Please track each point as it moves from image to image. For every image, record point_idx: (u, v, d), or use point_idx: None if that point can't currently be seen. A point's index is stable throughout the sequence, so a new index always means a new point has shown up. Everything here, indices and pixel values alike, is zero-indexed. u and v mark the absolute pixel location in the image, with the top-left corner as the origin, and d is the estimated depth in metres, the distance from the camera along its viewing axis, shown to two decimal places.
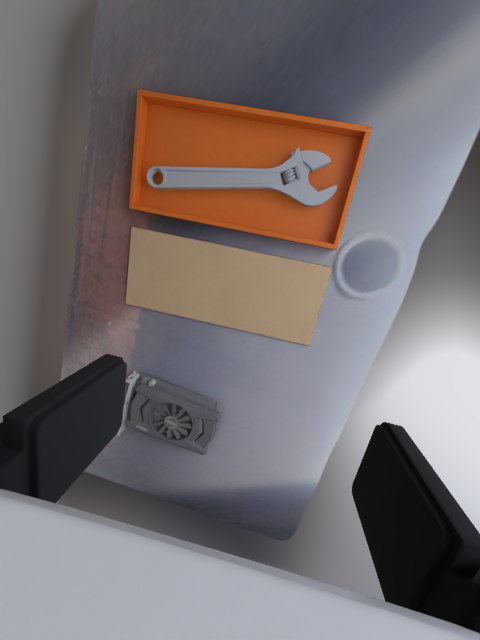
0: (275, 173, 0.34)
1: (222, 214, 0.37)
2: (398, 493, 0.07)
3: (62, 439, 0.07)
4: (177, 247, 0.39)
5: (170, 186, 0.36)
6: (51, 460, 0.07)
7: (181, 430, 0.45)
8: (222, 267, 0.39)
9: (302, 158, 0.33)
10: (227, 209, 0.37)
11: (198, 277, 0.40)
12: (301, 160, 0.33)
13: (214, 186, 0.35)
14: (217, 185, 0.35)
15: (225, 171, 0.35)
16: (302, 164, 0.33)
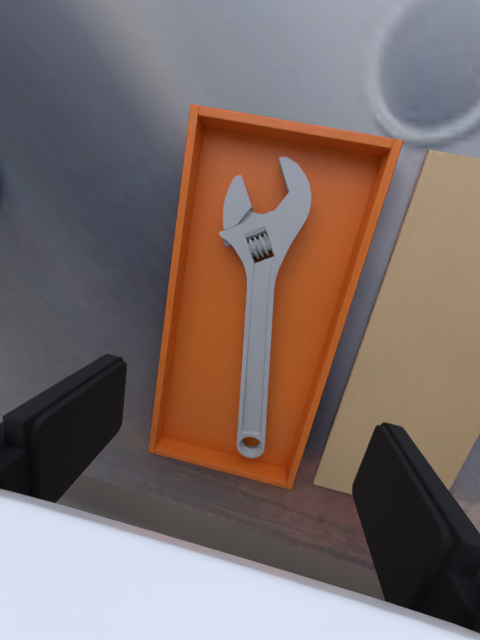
0: (254, 270, 0.20)
1: (307, 354, 0.23)
2: (398, 493, 0.07)
3: (62, 439, 0.07)
4: (352, 426, 0.24)
5: (264, 429, 0.24)
6: (51, 460, 0.07)
7: None
8: (396, 360, 0.22)
9: (234, 225, 0.20)
10: (300, 346, 0.23)
11: (408, 400, 0.23)
12: (237, 227, 0.20)
13: (268, 367, 0.22)
14: (267, 362, 0.22)
15: (247, 349, 0.22)
16: (243, 225, 0.20)
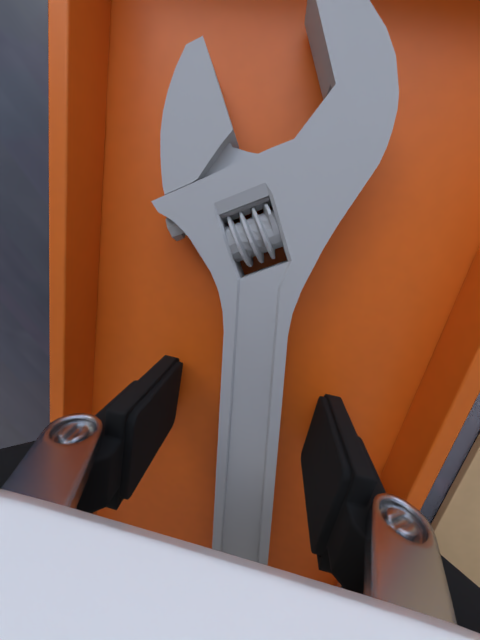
0: (241, 295, 0.09)
1: None
2: (324, 448, 0.08)
3: (144, 431, 0.08)
4: None
5: None
6: (137, 450, 0.08)
7: None
8: None
9: (190, 183, 0.08)
10: None
11: None
12: (197, 187, 0.08)
13: (271, 497, 0.10)
14: (269, 490, 0.10)
15: (227, 460, 0.10)
16: (212, 181, 0.08)
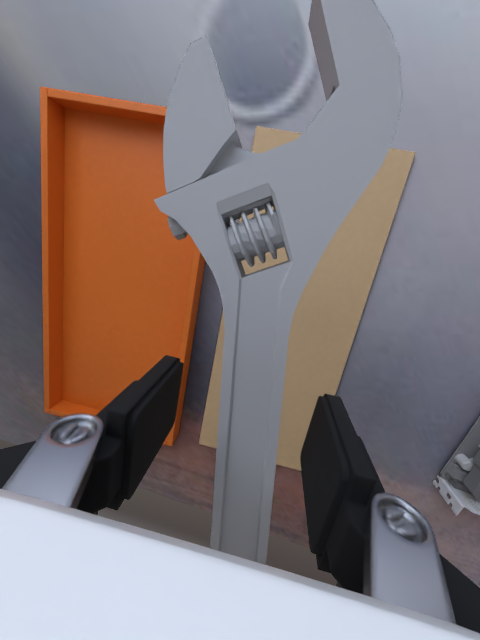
0: (242, 295, 0.09)
1: (177, 318, 0.25)
2: (324, 448, 0.08)
3: (145, 431, 0.08)
4: None
5: None
6: (138, 450, 0.08)
7: None
8: None
9: (192, 182, 0.08)
10: (171, 311, 0.25)
11: None
12: (199, 186, 0.08)
13: (270, 497, 0.10)
14: (268, 490, 0.10)
15: (226, 460, 0.10)
16: (215, 180, 0.08)
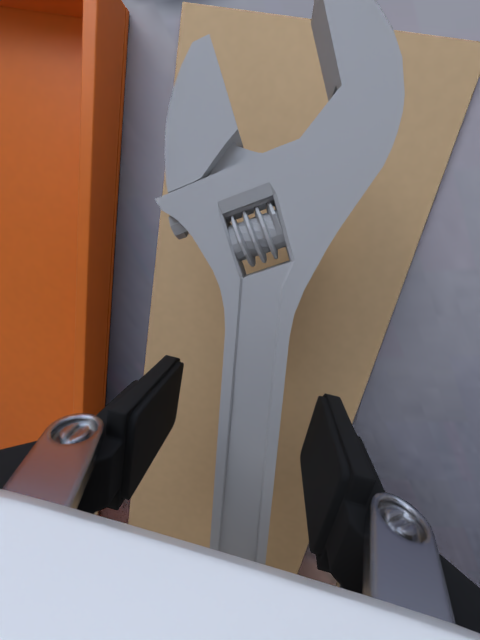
0: (243, 295, 0.09)
1: None
2: (323, 448, 0.08)
3: (145, 431, 0.08)
4: (159, 458, 0.17)
5: None
6: (138, 450, 0.08)
7: None
8: (199, 361, 0.15)
9: (194, 181, 0.08)
10: (66, 340, 0.16)
11: None
12: (201, 186, 0.08)
13: (269, 497, 0.10)
14: (268, 490, 0.10)
15: (226, 460, 0.10)
16: (216, 180, 0.08)
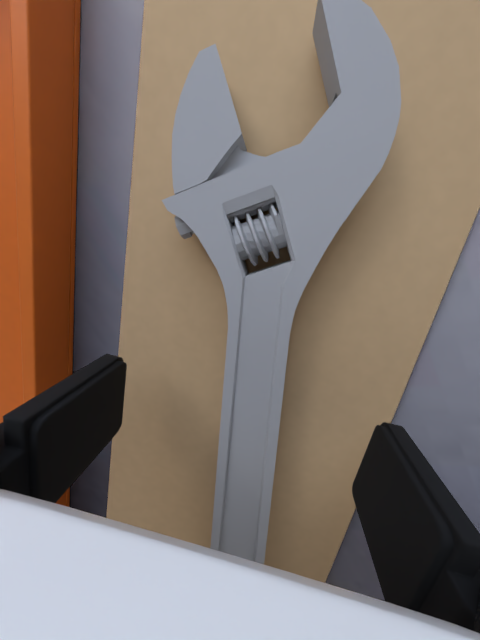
0: (246, 292, 0.09)
1: None
2: (398, 493, 0.07)
3: (62, 439, 0.07)
4: (136, 501, 0.14)
5: None
6: (51, 460, 0.07)
7: None
8: (182, 388, 0.12)
9: (199, 184, 0.08)
10: (21, 360, 0.13)
11: None
12: (206, 188, 0.08)
13: (269, 489, 0.11)
14: (268, 482, 0.11)
15: (228, 453, 0.11)
16: (221, 182, 0.08)
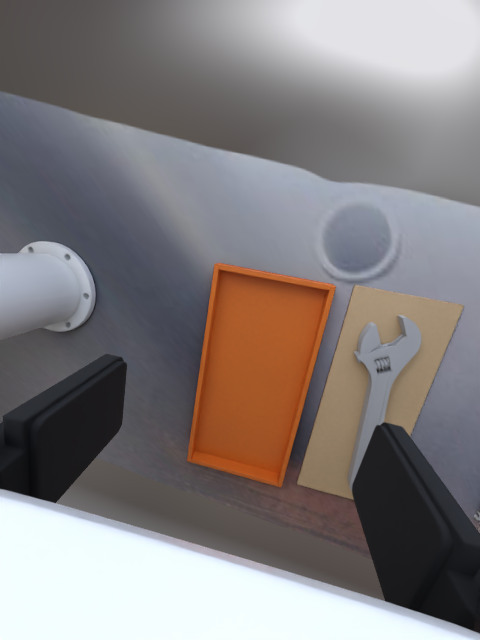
0: (377, 379, 0.32)
1: (289, 399, 0.36)
2: (398, 493, 0.07)
3: (62, 439, 0.07)
4: (320, 446, 0.37)
5: None
6: (51, 460, 0.07)
7: None
8: (345, 404, 0.35)
9: (367, 353, 0.31)
10: (284, 394, 0.36)
11: (355, 429, 0.36)
12: (369, 354, 0.31)
13: None
14: None
15: (366, 425, 0.34)
16: (373, 353, 0.31)
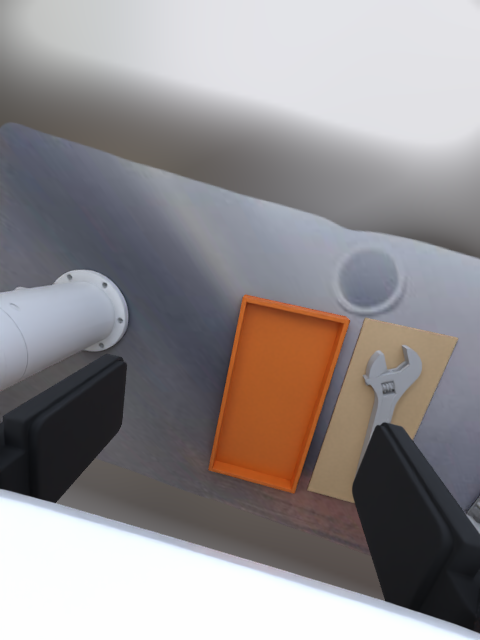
0: (383, 399, 0.36)
1: (303, 415, 0.40)
2: (398, 493, 0.07)
3: (62, 439, 0.07)
4: (330, 456, 0.41)
5: None
6: (51, 460, 0.07)
7: None
8: (353, 420, 0.39)
9: (375, 377, 0.36)
10: (299, 411, 0.40)
11: (361, 442, 0.40)
12: (377, 378, 0.36)
13: None
14: None
15: None
16: (380, 377, 0.36)
